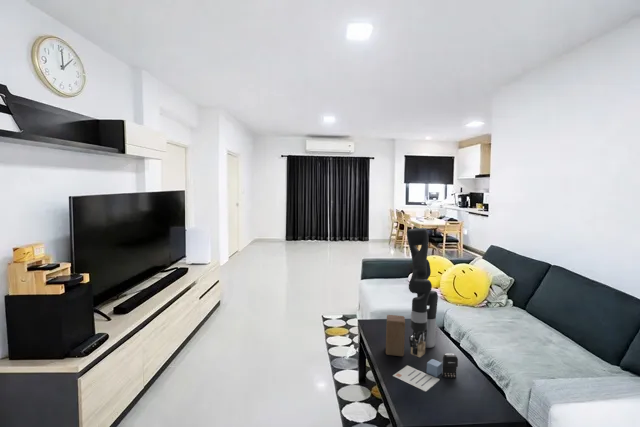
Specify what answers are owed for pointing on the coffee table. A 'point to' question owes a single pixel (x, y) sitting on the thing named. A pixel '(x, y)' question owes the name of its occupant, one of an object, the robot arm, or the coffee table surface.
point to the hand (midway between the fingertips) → (417, 352)
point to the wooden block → (395, 335)
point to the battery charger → (449, 365)
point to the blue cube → (434, 367)
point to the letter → (416, 378)
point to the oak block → (419, 349)
